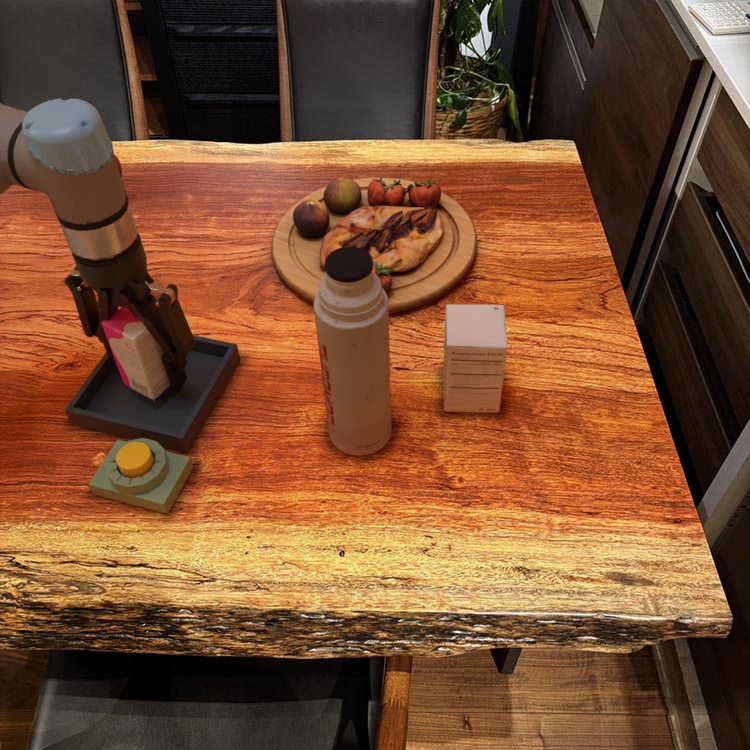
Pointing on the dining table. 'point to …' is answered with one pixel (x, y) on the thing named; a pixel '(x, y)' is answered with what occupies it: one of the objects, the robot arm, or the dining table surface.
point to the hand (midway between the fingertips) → (154, 378)
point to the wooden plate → (378, 237)
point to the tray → (170, 412)
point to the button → (134, 459)
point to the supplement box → (136, 355)
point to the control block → (143, 478)
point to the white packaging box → (474, 357)
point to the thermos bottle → (354, 352)
